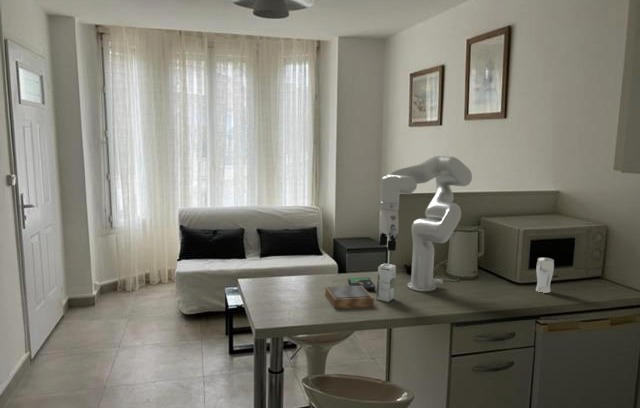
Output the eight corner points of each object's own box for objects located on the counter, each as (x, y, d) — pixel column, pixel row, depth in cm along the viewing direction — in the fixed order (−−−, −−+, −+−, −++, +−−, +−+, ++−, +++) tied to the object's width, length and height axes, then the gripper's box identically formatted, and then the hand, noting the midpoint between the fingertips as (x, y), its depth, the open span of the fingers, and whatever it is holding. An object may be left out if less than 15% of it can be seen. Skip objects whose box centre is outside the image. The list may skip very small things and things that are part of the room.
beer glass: (536, 293, 210) (539, 260, 208) (533, 288, 217) (535, 256, 215) (553, 294, 208) (556, 261, 207) (549, 290, 215) (552, 257, 213)
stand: (361, 293, 203) (361, 284, 202) (373, 306, 187) (373, 296, 187) (325, 295, 199) (325, 286, 199) (334, 308, 184) (334, 298, 183)
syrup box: (381, 296, 201) (383, 262, 199) (394, 298, 198) (396, 265, 196) (376, 299, 196) (377, 265, 194) (389, 302, 193) (390, 267, 191)
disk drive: (375, 293, 206) (369, 282, 221) (375, 287, 206) (369, 277, 221) (352, 293, 205) (347, 282, 220) (352, 287, 205) (347, 277, 220)
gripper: (406, 209, 184) (403, 252, 186) (390, 203, 201) (388, 243, 203) (388, 209, 183) (385, 252, 185) (373, 203, 199) (371, 243, 201)
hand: (387, 247), depth 194 cm, fingers open, 9 cm apart
